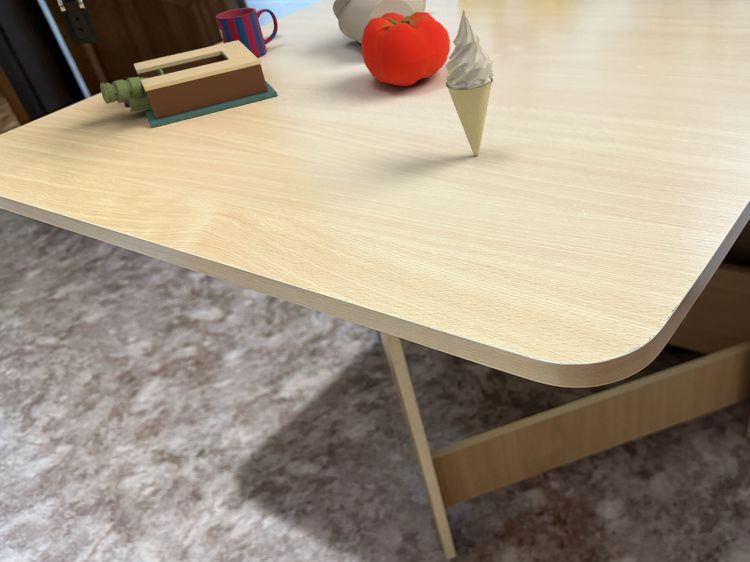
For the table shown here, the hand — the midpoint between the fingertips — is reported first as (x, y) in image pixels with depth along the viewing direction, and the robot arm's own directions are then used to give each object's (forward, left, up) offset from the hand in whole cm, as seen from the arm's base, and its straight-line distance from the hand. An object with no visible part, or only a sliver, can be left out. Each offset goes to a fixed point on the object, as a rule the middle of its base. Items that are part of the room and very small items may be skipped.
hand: (85, 36), depth 93 cm
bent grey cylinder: (+46, +7, -12) cm, 48 cm away
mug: (+25, +18, -12) cm, 33 cm away
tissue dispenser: (+13, 0, -11) cm, 17 cm away
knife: (+8, +2, -9) cm, 12 cm away
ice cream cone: (+35, -46, -12) cm, 58 cm away
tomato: (+40, -16, -12) cm, 44 cm away
